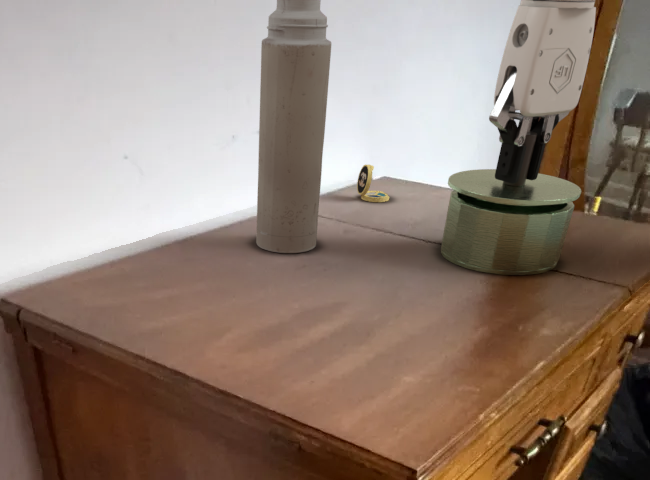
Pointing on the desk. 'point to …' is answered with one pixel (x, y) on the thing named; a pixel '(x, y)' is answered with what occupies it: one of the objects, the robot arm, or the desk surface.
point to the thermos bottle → (292, 126)
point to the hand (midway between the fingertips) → (515, 177)
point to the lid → (515, 185)
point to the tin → (504, 235)
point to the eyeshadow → (364, 185)
